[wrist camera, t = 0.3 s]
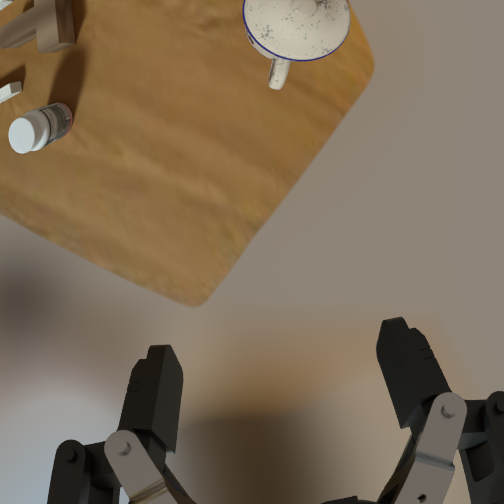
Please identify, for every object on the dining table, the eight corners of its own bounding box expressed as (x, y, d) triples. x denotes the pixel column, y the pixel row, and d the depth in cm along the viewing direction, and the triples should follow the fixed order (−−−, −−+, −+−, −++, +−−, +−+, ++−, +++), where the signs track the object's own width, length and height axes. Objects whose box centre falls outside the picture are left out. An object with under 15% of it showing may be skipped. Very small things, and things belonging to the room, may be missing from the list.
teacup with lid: (252, -17, 24) (257, -55, 14) (333, 4, 25) (373, -20, 15) (228, 78, 30) (222, 80, 20) (309, 96, 31) (339, 108, 22)
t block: (15, 8, 21) (-2, 6, 17) (69, -22, 20) (53, -28, 17) (21, 69, 26) (3, 72, 23) (75, 43, 26) (59, 42, 22)
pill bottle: (43, 136, 32) (5, 155, 25) (45, 101, 29) (6, 114, 22) (72, 139, 32) (36, 159, 25) (75, 103, 30) (37, 115, 23)
